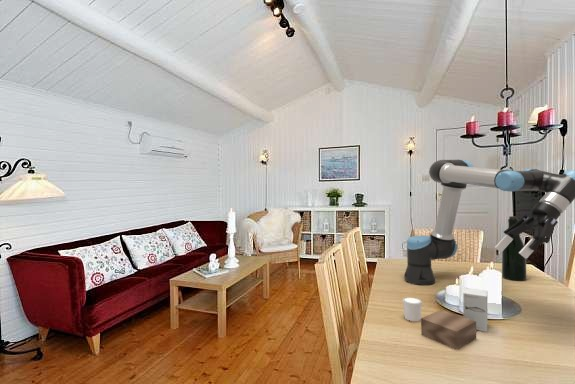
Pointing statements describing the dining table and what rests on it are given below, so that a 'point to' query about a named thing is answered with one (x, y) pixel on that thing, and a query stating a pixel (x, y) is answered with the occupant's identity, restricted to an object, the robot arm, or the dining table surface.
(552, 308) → the dining table surface
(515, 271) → the dark green bottle
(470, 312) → the supplement box
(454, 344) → the walnut block
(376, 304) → the dining table surface
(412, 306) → the white cylinder
